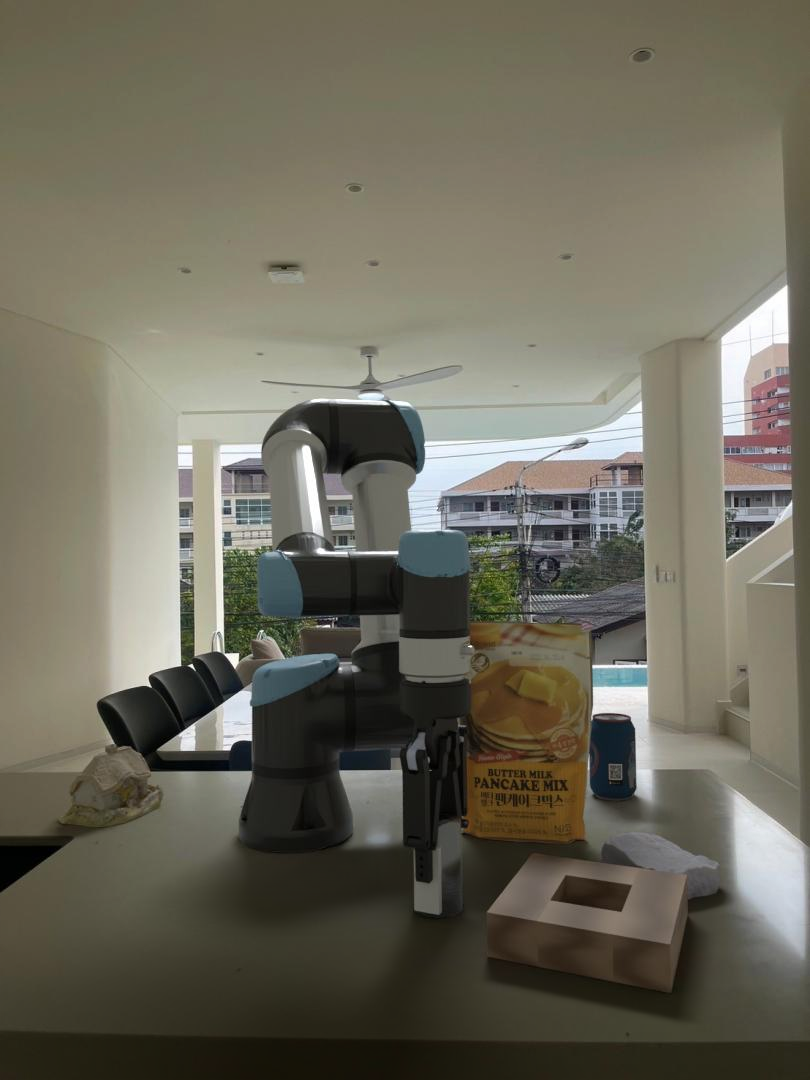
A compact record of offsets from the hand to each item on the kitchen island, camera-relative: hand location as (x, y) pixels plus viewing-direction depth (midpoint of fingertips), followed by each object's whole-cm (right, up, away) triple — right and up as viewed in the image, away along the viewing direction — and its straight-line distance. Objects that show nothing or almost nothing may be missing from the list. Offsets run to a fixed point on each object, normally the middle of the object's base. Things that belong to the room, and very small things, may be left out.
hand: (438, 899), depth 84 cm
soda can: (+28, -2, +39) cm, 48 cm away
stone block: (+26, -1, +7) cm, 27 cm away
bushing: (0, -1, 0) cm, 1 cm away
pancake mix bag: (+12, -1, +22) cm, 25 cm away
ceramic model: (-46, -3, +34) cm, 57 cm away
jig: (+15, 0, -7) cm, 16 cm away
